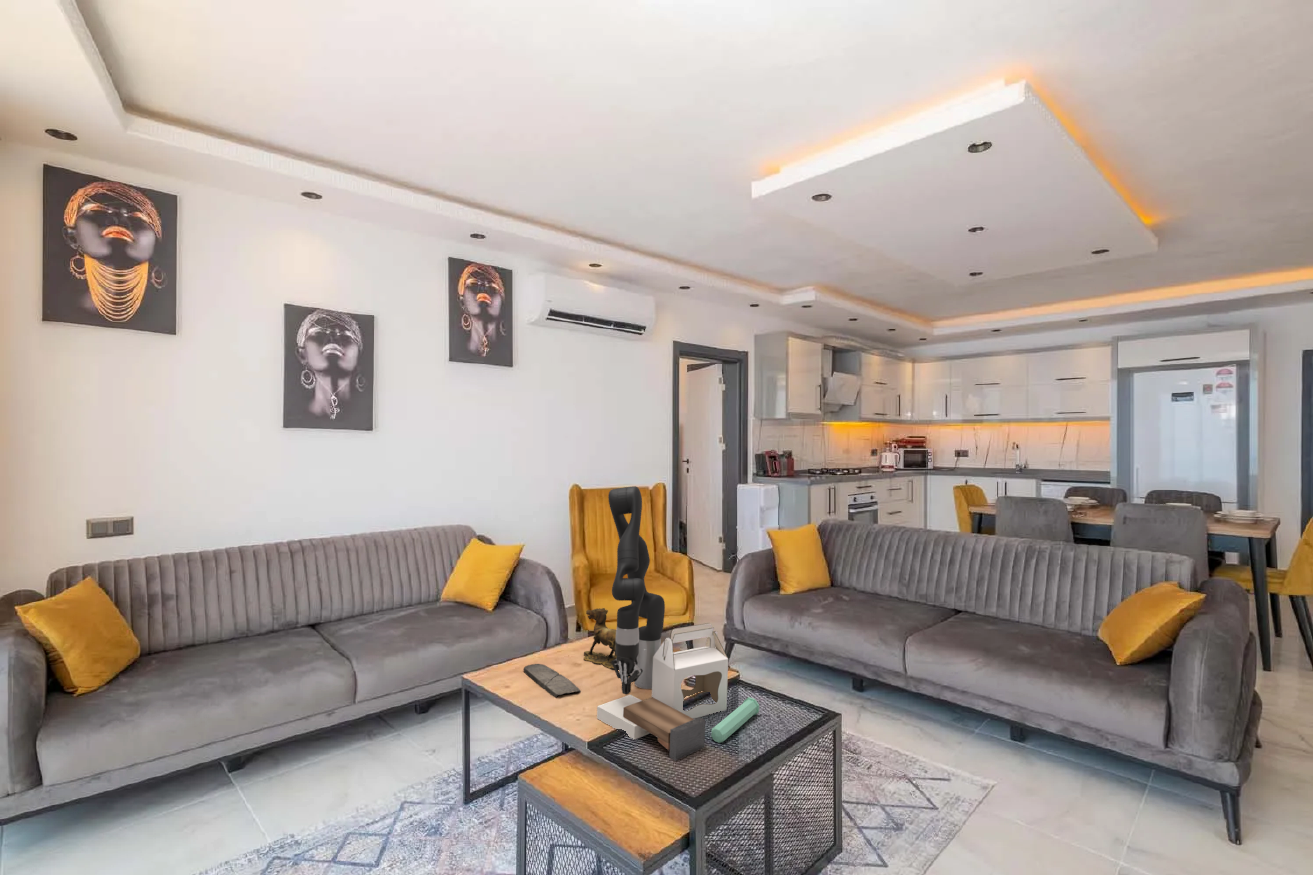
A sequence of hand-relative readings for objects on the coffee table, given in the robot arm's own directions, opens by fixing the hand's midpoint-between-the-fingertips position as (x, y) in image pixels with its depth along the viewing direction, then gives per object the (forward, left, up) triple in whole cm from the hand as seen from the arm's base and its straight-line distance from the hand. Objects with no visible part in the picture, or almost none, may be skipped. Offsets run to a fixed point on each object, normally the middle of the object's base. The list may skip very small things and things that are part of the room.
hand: (626, 693), depth 202 cm
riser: (+1, +4, -8) cm, 9 cm away
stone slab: (+2, -39, -8) cm, 40 cm away
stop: (+1, +28, -8) cm, 29 cm away
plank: (+1, +16, -4) cm, 17 cm away
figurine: (-26, -42, -8) cm, 50 cm away
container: (-22, +27, -8) cm, 36 cm away
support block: (+1, +21, -8) cm, 23 cm away
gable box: (-20, +9, -8) cm, 24 cm away
